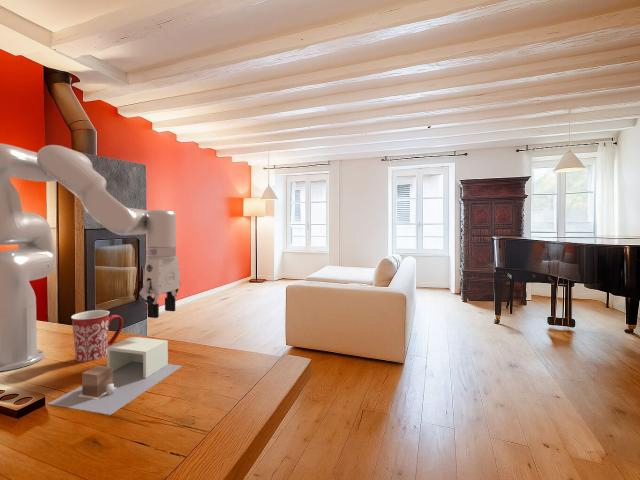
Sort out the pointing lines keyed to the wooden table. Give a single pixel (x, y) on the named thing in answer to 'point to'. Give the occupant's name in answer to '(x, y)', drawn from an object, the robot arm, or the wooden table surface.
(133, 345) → the housing cover
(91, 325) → the mug
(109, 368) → the block
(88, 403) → the base board
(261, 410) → the wooden table surface
